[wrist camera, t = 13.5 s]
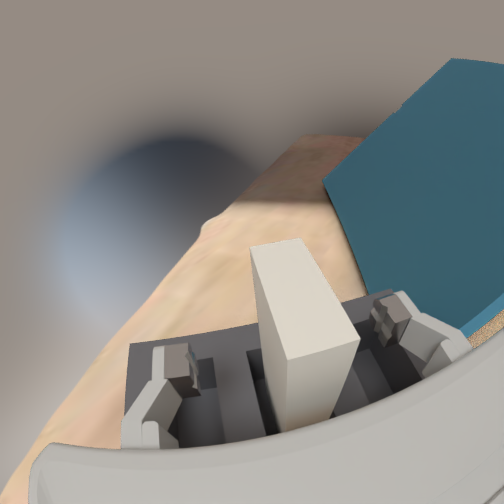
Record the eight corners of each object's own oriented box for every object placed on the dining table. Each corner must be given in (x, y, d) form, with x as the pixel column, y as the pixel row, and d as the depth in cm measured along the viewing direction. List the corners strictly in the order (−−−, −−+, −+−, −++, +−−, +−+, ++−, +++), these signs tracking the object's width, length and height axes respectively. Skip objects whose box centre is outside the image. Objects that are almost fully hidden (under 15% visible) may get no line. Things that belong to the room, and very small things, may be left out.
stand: (155, 379, 20) (129, 343, 17) (376, 330, 21) (390, 288, 19) (163, 510, 11) (126, 505, 8) (434, 436, 13) (470, 409, 10)
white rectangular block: (266, 390, 17) (249, 247, 10) (294, 383, 18) (300, 237, 11) (284, 455, 13) (287, 359, 6) (315, 446, 14) (360, 338, 7)
